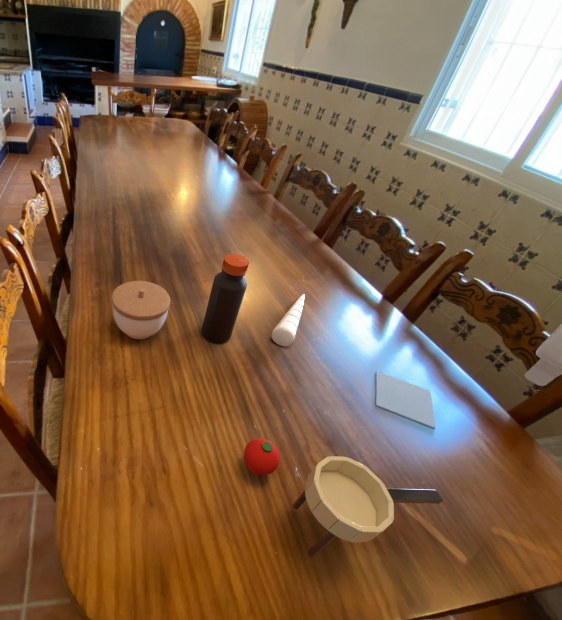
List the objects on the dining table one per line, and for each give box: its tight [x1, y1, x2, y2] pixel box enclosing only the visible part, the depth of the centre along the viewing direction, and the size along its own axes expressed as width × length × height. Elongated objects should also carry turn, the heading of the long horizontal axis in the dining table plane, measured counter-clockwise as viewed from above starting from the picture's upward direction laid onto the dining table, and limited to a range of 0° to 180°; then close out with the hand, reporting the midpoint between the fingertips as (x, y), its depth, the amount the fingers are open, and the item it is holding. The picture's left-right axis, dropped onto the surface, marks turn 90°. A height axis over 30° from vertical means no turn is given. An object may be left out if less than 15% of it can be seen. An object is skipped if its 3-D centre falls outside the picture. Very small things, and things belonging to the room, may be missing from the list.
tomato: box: [243, 437, 281, 476], centre depth 57 cm, size 5×5×6 cm
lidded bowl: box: [111, 280, 171, 340], centre depth 79 cm, size 13×13×11 cm
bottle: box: [201, 253, 250, 344], centre depth 76 cm, size 7×7×20 cm
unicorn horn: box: [271, 293, 306, 347], centre depth 87 cm, size 5×24×5 cm, turn 143°
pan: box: [292, 455, 444, 558], centre depth 48 cm, size 16×9×12 cm, turn 91°
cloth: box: [375, 370, 436, 430], centre depth 71 cm, size 10×10×1 cm
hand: (548, 363), depth 41 cm, fingers open, 8 cm apart
